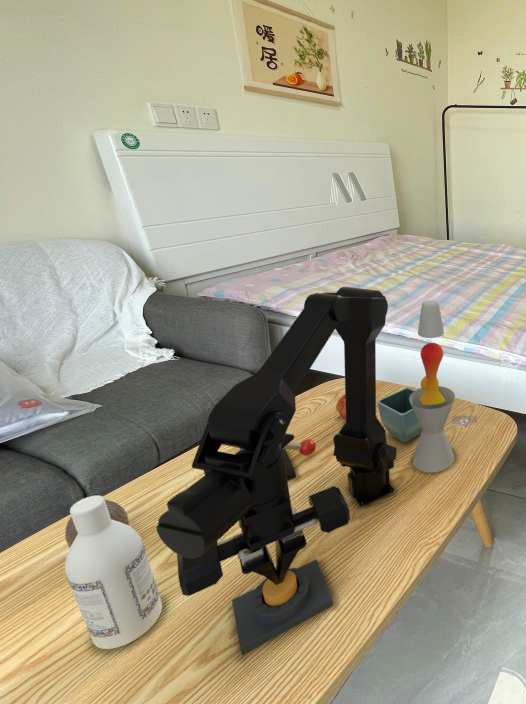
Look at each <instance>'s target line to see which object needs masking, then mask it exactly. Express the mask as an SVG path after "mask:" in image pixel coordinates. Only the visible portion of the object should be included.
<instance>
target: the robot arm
mask: <svg viewBox="0 0 526 704" xmlns="http://www.w3.org/2000/svg"><path fill="white" fill-rule="evenodd" d="M388 309H389V303H388V300H387V297H386V295H384V294H383V293H382V292H381V290H378V289H370V288H360V287H351V286H350V287H349V286H341V287H339V289H337V291H335V292H333V291H332V292H331V291H329V292H315V293H310V294H309V295H308V296H307V297H306V299H305V300H304V303H303V309H302V310H301V311H300V313H299V314H298V315H297V317H296V319H295V320H294V321H293V323H292V324H291V325H290V327H289V328H288V329H287V331H286V332H285V334H284V335H283V336H282V338H281V339H280V340H279V342H278V343H277V345H276V346H275V347H274V349H273V350H272V352H271V353H270V354H269V356H268V358H267V359H266V360H265V361H264V363H262V366H260V368H259V369H258V370H257V371H256V372H255V373H254V374H253V375H251V376H249V377H247V378H246V379H243V380H242V381H240V382H238V383H236V384H235V385H233V386H232V387H231V388H230V390H228V392H227V393H226V394H224V395H223V396H222V397H221V399H220V400H219V401H218V402H217V403H216V404H215V405H214V407H213V408H212V409H211V411H210V413H209V415H208V418H207V423H206V426H205V428H204V430H203V433H202V436H201V439H200V442H199V445H198V447H197V450H196V453H195V456H194V458H193V461H192V463H191V468H192V469H195V470H199V471H203V473H204V475H203V476H202V477H201V478H199V479H198V480H196V482H194V483H193V484H191V485H190V486H188V487H187V488H186V489H184V490H182V491H181V492H178V493H177V494H176V495H174V496H173V497H171V498H170V499H169V500H168V501H167V503H166V507H167V510H166V511H165V512H164V513H163V514H161V515H160V516H159V518H158V520H157V525H156V527H155V528H156V532H157V535H158V537H159V538H160V540H161V541H162V543H163V544H164V545H165V546H166V547H167V548H168V549H170V550H171V552H173V553H175V554H176V559H177V576H178V583H179V587H180V590H181V594H182V596H185V597H187V596H188V597H190V596H192V595H194V594H197V593H199V592H201V591H203V590H206V589H208V588H210V587H212V586H214V585H217V584H218V582H219V581H220V580H221V579H222V578H223V576H224V573H223V572H224V571H223V568H222V562H224V561H225V560H228V559H230V558H232V557H236V556H237V559H239V563H240V568H241V569H240V570H241V572H242V574H243V575H248V574H250V573H254V574H257V575H259V576H262V577H264V578H265V579H266V578H267V579H269V580H270V581H271V582H273V583H274V584H275V585H278V584H279V583H282V582H283V580H284V578H285V576H286V574H287V571H288V569H289V568H291V565H292V564H293V561H294V560H295V558H296V557H297V555H298V553H299V552H300V551H301V550H303V549H305V548H306V547H307V543H308V542H307V539H306V537H305V534H304V532H303V531H305V529H307V528H309V527H311V526H313V525H316V524H318V523H319V529H320V531H321V532H324V533H327V534H329V533H331V532H333V531H335V530H338V529H340V528H342V527H344V526H346V525H348V524H349V522H350V521H351V513H350V507H349V505H348V503H347V500H346V498H345V497H344V495H343V494H342V491H341V490H340V488H339V487H337V486H335V485H333V486H331V487H328V488H325V489H322V490H321V491H317V492H315V493H312V494H310V495H308V497H307V498H308V503H309V506H310V507H307V508H305V509H303V510H301V511H299V512H297V508H295V507H294V508H293V506H292V502H291V494H290V489H289V483H288V482H289V481H287V475H286V469H285V463H284V457H283V451H282V450H283V448H284V447H285V446H286V445H287V444H289V443H292V441H293V440H294V439H295V435H294V434H293V433H287V432H288V428H289V426H290V424H291V422H292V420H293V418H294V416H295V413H296V410H297V408H296V393H297V392H298V389H299V387H300V386H301V384H302V382H303V381H304V379H305V378H306V376H307V374H308V373H309V371H310V370H311V368H312V367H313V365H314V363H315V362H316V360H317V359H318V357H319V356H320V354H321V352H322V350H323V349H324V347H325V346H326V344H327V343H328V341H329V339H330V338H331V336H332V335H333V333H334V332H335V331H336V333H337V334H338V336H339V337H340V338H341V340H342V341H343V355H344V393H345V394H344V395H345V400H346V420H345V423H344V424H343V426H342V427H341V429H340V430H339V431H338V433H336V434H335V435H333V436H334V437H333V438H332V439H333V446H334V447H333V454H332V456H333V457H335V459H336V462H338V463H339V464H340V466H341V467H343V468H344V467H347V468H349V472H348V473H347V474H346V475H347V484H348V491H349V493H350V495H351V497H352V498H353V499H354V500H356V502H357V504H358V506H359V507H363V506H366V505H368V504H370V503H372V502H374V501H377V500H379V499H382V498H383V497H387V496H388V495H392V494H393V493H394V492H395V488H394V486H392V484H391V477H390V470H392V469H394V468H395V461H396V458H397V451H398V447H395V446H393V445H391V444H388V443H387V432H386V431H387V430H386V428H385V427H384V425H383V424H382V422H380V420H379V419H378V417H377V377H376V375H377V374H376V373H377V371H376V369H377V367H376V366H377V365H376V360H377V359H376V358H377V355H376V352H377V351H376V349H377V347H376V341H377V340H376V339H377V338H378V336H379V335H380V333H381V332H382V330H383V329H384V328H385V326H386V320H387V314H388ZM222 445H223V446H226V447H227V446H228V447H233V448H237V449H238V448H239V450H237V452H235V453H229V452H223V451H219V450H220V448H221V446H222ZM240 448H242V449H241V450H240ZM237 523H238V525H239V528H240V530H241V533H239V534H236V535H234V536H231V537H229V538H226V539H224V540H221V541H219V540H220V539H221V538H222V537H223V536H225V534H227V533H228V532H229V531H230V530H231V529H232V528H233V527H234V526H235V525H236V524H237ZM218 541H219V542H218ZM274 542H275V563H274V560H273V558H272V555H271V553H270V551H269V549H268V545H270V544H273V543H274Z"/></svg>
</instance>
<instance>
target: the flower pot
mask: <svg viewBox="0 0 526 704" xmlns="http://www.w3.org/2000/svg"><path fill="white" fill-rule="evenodd" d="M414 391H416V389H413V388H410V387H404V388H402V389H400V390H398V391H395V392H393V393H391V394H389V395H387V396H385V397H383V398H381V399H379V400H376V405H377V408H378V413H379V417H380V421H381V424H382V426H383V428H384V429H385V431H387V432H388V433H389V434H390V436H392V437H394V438H395V439H398V440H399V441H401V442H402V443H407V442H409V441H411V440H412V439H414V438H416V437H418V436H420V435H421V432H422V428H421V426H420V424H419V421H418V419H417V417H416V415H415V413H414V411H413V408H412V406H411V404H410V400H409V397H410V395H411V394H412V393H413V392H414Z"/></svg>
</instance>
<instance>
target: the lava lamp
mask: <svg viewBox="0 0 526 704" xmlns="http://www.w3.org/2000/svg"><path fill="white" fill-rule="evenodd" d="M444 329H445V328H444V324H443V319H442V313H441V307H440V304H439V302H438V301H437V300H431V299H429V300H425V301H422V303H421V307H420V315H419V321H418V329H417V335H418V336H419V337H421V338H425V339H436V338H440V337H442V336H443V335H444V334H445V330H444ZM420 358H421V362H422V364H423V368H424V372H425V375H424V377H423V378H422V379H421V381H420V388H418V389H415V391H414V392H413V393H412V394H411V395H410V397H409V400H410V404H411V406H412V408H413V411H414V413H415V415H416V417H417V419H418V421H419V424H420V426H421V428H422V432H421V434H419V439H418V442H417V445H416V448H415V451H414V455H413V457H412V465H413V467H415V469H417V470H418V471H420V472H423V473H438V472H442V471H444V470H446V469H448V468H449V467H451V466H452V465H453V463H454V461H455V455H454V451H453V449H452V447H451V444H450V441H449V438H448V436H447V433H446V430H445V426H446V423H447V421H448V418H449V415H450V413H451V410H452V408H453V405H454V402H455V399H456V395H455V392H454V391H453V390H452V389H450V388H448V387H445V386H441V385H440V382H439V378H438V377H437V374H438V371H439V367H440V366H441V362H442V360H443V358H444V350H443V347H442V346H441V345H440V344H438V343H436V342H428V343H426V344H424V345H423V346H422V348H421V350H420Z"/></svg>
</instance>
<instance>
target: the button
mask: <svg viewBox="0 0 526 704" xmlns="http://www.w3.org/2000/svg"><path fill="white" fill-rule="evenodd" d="M296 591H297V581H296V576H295V574H294V573H293V572H292V571H287V574H286V576H285V578H284V580H283V582H282V583H279V584H278V585H275V584H274V583H273V582H271V581H270V580H269V579H267V581H266V582H265V584H264V586H263V595H264V600H265V602H266V604H268V605H270V606H279V605H282V604H284V603H286V602H287V601H289V600H290V599H291V598H292V597H293V596H294V595H295V593H296Z"/></svg>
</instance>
